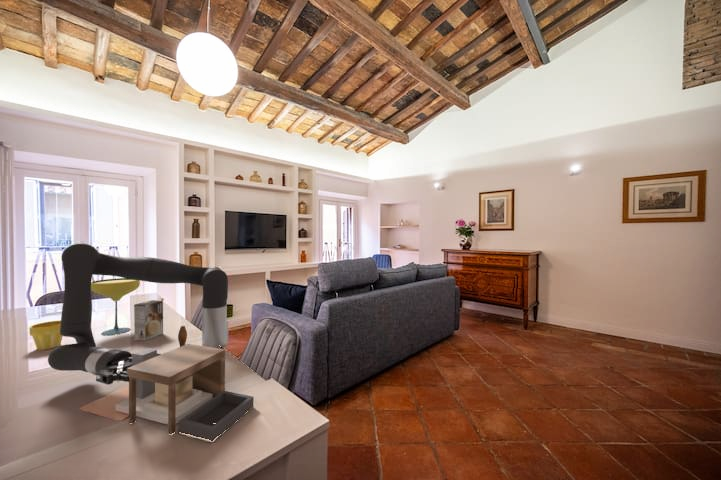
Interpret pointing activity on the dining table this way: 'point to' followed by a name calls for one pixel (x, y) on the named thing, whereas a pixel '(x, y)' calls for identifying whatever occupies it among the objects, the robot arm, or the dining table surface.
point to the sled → (147, 396)
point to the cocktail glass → (115, 295)
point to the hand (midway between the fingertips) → (149, 370)
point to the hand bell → (182, 336)
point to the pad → (109, 405)
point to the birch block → (181, 391)
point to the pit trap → (216, 415)
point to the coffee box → (148, 319)
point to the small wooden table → (180, 374)
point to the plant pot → (46, 335)
